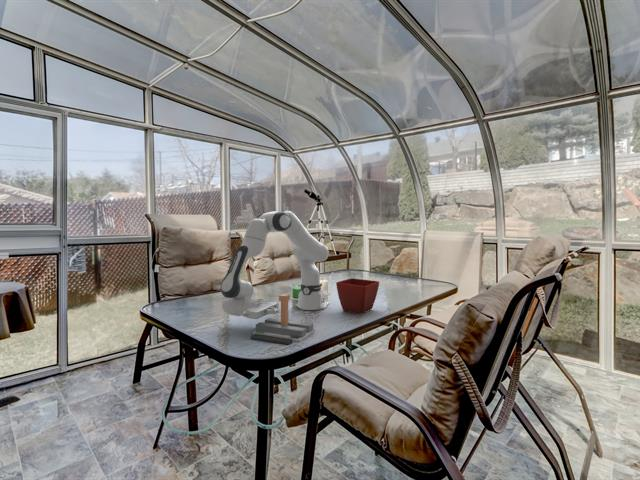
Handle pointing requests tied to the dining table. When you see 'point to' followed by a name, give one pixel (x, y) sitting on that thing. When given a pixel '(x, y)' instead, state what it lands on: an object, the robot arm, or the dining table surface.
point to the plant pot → (357, 294)
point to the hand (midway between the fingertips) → (277, 311)
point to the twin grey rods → (271, 339)
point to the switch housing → (284, 329)
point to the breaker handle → (284, 308)
